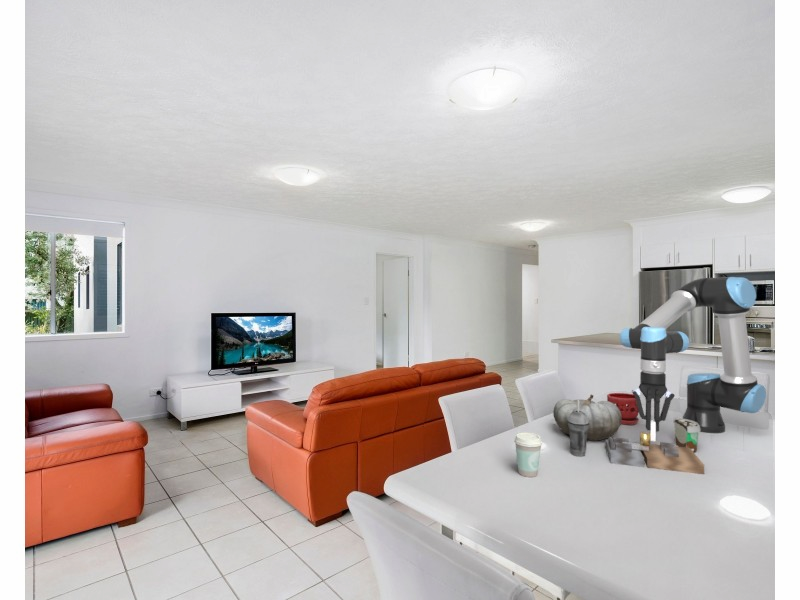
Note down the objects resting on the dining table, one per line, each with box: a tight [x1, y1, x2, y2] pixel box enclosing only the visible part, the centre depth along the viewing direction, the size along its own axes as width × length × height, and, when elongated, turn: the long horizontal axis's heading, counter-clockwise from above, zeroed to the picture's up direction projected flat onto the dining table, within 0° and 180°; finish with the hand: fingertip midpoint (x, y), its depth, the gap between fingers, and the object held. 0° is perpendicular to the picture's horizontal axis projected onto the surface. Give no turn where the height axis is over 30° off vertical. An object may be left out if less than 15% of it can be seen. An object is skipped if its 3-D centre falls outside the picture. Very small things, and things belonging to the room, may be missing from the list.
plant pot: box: [606, 392, 640, 425], centre depth 195 cm, size 13×13×12 cm
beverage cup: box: [568, 399, 589, 458], centre depth 156 cm, size 7×7×20 cm
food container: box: [673, 417, 702, 454], centre depth 161 cm, size 12×6×10 cm, turn 168°
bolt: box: [622, 431, 651, 451], centre depth 152 cm, size 8×3×6 cm, turn 70°
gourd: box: [552, 394, 622, 442], centre depth 176 cm, size 25×25×17 cm
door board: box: [605, 436, 705, 475], centre depth 151 cm, size 27×16×5 cm, turn 70°
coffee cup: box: [513, 432, 543, 478], centre depth 140 cm, size 8×8×12 cm
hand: (652, 439), depth 151 cm, fingers closed
